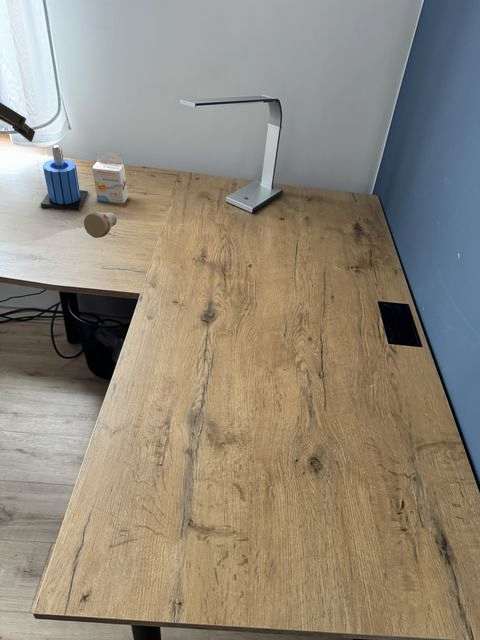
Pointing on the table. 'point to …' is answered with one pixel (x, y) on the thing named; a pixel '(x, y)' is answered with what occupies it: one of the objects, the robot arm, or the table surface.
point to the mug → (99, 223)
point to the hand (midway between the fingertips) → (9, 130)
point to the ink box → (110, 178)
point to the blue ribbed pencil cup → (62, 182)
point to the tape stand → (47, 202)
